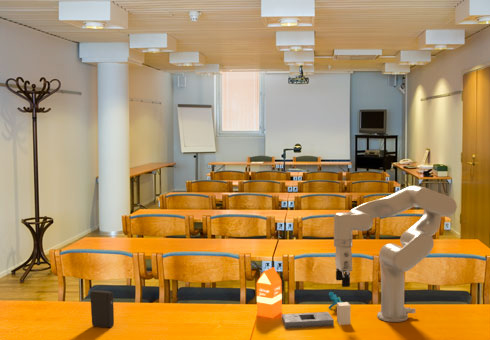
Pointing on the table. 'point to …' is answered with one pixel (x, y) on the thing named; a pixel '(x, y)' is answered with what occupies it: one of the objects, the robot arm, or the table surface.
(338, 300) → the teal plastic figure
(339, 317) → the square peg
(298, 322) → the grey peg hole board
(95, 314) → the card reader
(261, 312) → the orange juice
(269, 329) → the table surface
